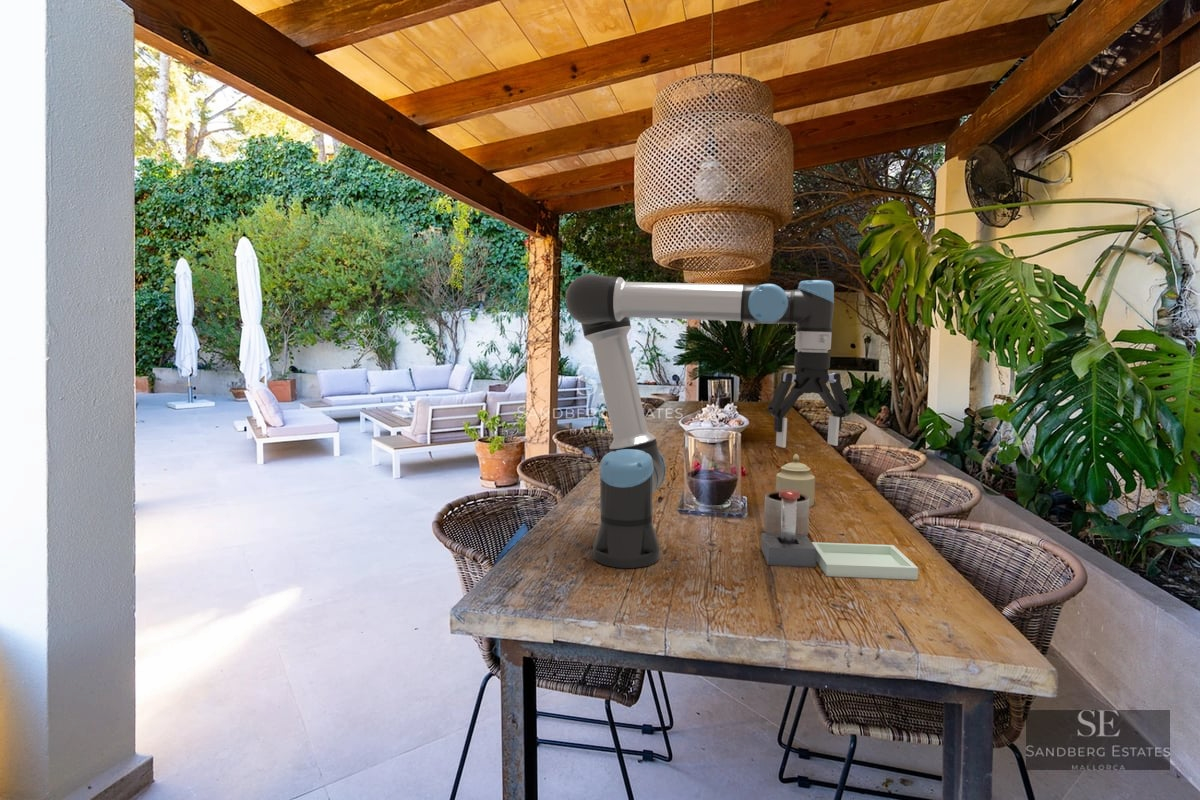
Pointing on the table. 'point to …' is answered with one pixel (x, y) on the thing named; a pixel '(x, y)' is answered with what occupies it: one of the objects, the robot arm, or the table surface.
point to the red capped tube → (788, 515)
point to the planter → (774, 513)
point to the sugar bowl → (797, 479)
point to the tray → (864, 561)
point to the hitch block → (788, 551)
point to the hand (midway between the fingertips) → (807, 445)
